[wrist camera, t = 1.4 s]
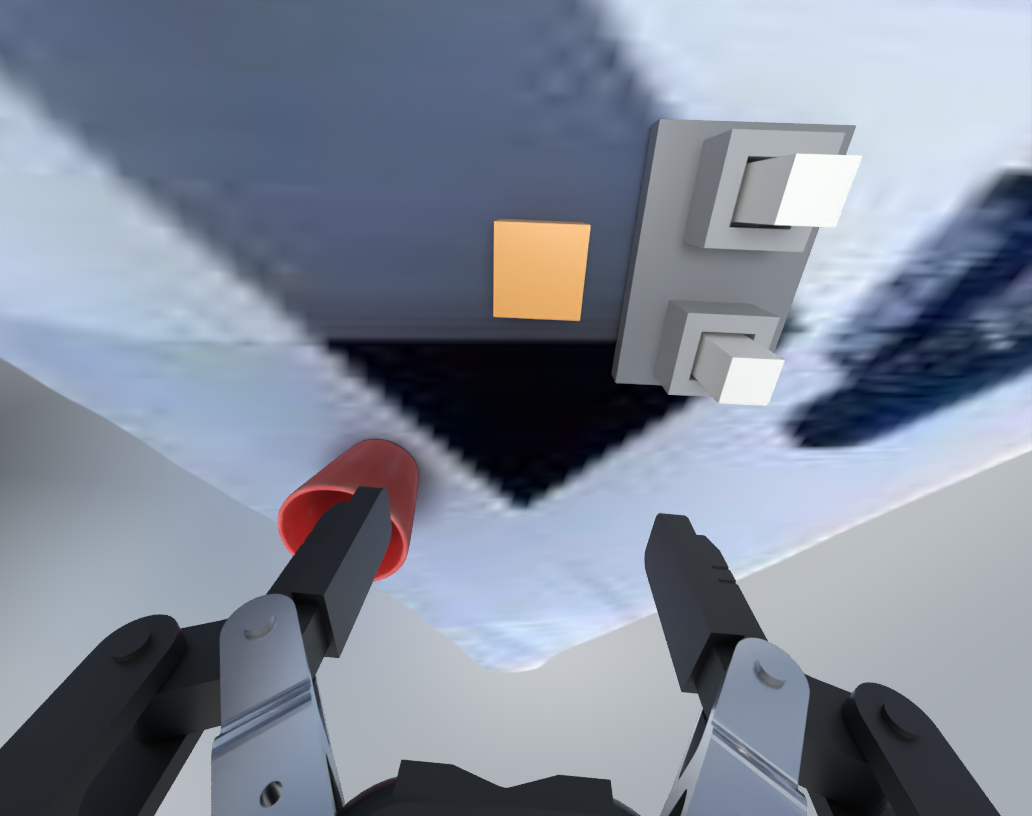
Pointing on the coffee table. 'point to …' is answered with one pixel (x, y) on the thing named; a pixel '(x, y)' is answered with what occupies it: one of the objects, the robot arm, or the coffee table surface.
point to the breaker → (736, 368)
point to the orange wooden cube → (539, 268)
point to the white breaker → (796, 190)
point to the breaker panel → (709, 247)
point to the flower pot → (338, 484)
